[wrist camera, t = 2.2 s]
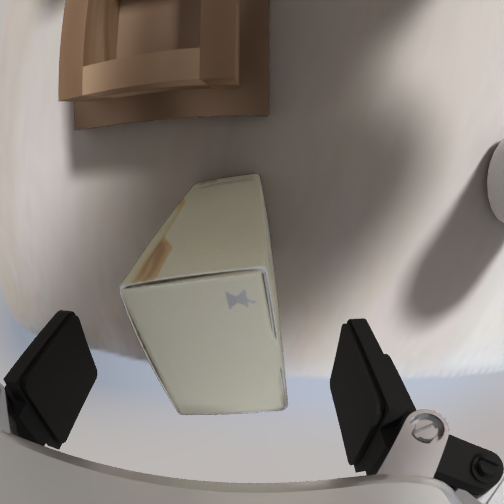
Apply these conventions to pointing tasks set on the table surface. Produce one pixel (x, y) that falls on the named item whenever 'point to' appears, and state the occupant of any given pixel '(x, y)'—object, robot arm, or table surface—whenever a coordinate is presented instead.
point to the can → (496, 182)
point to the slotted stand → (164, 59)
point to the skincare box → (211, 302)
